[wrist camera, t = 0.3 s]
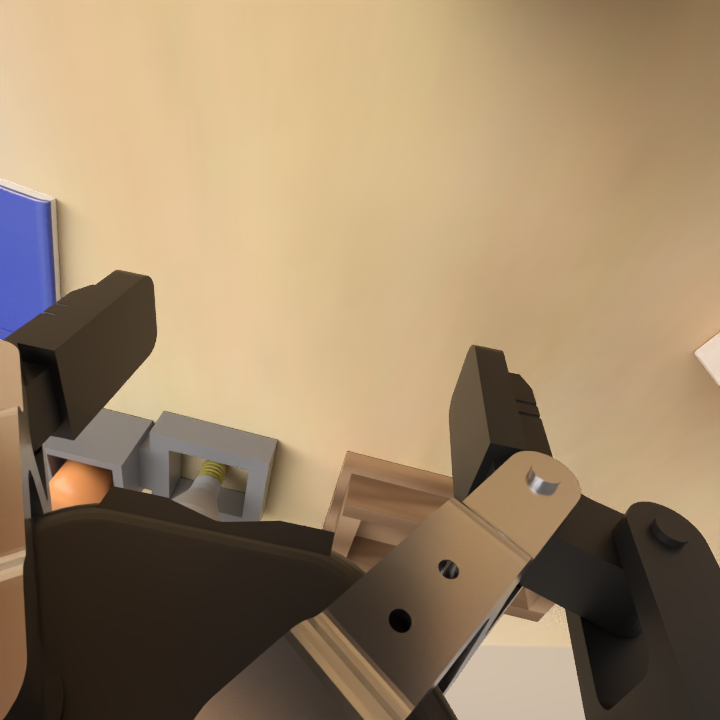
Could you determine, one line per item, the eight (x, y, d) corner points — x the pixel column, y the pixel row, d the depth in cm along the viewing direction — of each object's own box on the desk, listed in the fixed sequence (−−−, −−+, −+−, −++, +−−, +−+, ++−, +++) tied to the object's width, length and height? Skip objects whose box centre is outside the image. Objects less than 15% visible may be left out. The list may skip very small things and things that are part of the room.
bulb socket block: (72, 387, 39) (31, 430, 35) (277, 439, 40) (260, 488, 36) (85, 463, 45) (51, 508, 41) (264, 508, 46) (248, 556, 42)
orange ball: (66, 445, 38) (36, 480, 35) (116, 458, 38) (91, 493, 36) (72, 477, 41) (45, 512, 38) (119, 489, 41) (96, 525, 38)
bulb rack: (347, 451, 40) (338, 495, 36) (591, 513, 41) (606, 562, 37) (322, 527, 46) (313, 571, 43) (533, 580, 47) (541, 627, 43)
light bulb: (252, 486, 44) (211, 593, 36) (194, 480, 44) (141, 585, 36) (243, 443, 41) (196, 550, 33) (181, 438, 41) (120, 542, 33)
